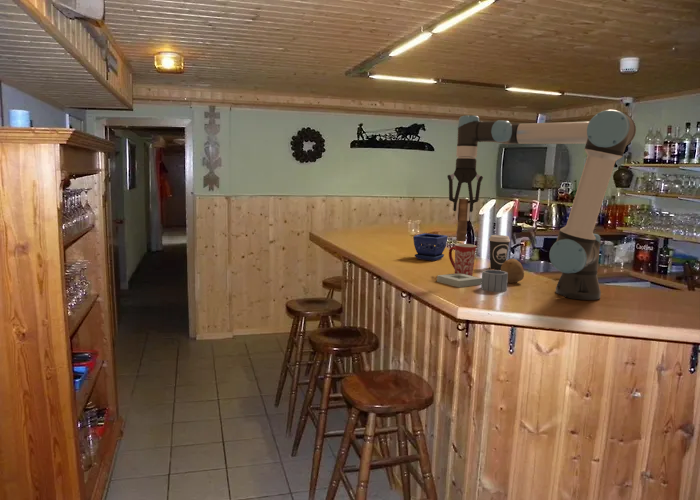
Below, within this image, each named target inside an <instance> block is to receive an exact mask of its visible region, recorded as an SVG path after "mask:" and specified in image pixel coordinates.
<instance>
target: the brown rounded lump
mask: <svg viewBox="0 0 700 500" xmlns="http://www.w3.org/2000/svg"><path fill="white" fill-rule="evenodd" d="M500 271H505V272H507V273H508V281H507V284H508V283H509V284H516V283H518V282H521V281H522V280H523V279H524V277H525V271H524V267H523V265H522V263H521V262H520V261H519V260H518V259H515V258H509V259H508V258H507V259H506V261H505V262H504V263H503V264H502V266H501V270H500Z"/></svg>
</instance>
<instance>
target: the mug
mask: <svg viewBox="0 0 700 500" xmlns="http://www.w3.org/2000/svg"><path fill="white" fill-rule="evenodd" d="M477 247H478V246H477V245H474V244H473V243H472V244H471V243H455V244H454V246H452V247H450V248H449V250H448V259H449V261H450V264H451V265H452V268H453V269H454V274H455V273H461V274H466V275H470V276H473V275H474V266H475V258H476V250H477ZM453 250H454V258H453Z"/></svg>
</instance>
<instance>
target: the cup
mask: <svg viewBox="0 0 700 500" xmlns="http://www.w3.org/2000/svg"><path fill="white" fill-rule="evenodd" d="M481 278H482V282H481V285H480V288H481V290H483V291H487V292H492V293H493V292H495V293H502V292H507V290H508V282H507V281H508V273H507V272H505V271H501V270H496V269H485V270H482V271H481Z"/></svg>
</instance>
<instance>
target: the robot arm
mask: <svg viewBox="0 0 700 500" xmlns="http://www.w3.org/2000/svg"><path fill="white" fill-rule="evenodd" d="M457 124H458V126H457V140H456V141H457V143H456V144H457V145H456V157H457V158H456V160H455V170H454V172H453V173H451V174H447V180H448V200H449V201H450V202H453V209H452V210H453V212H455V221H458V210H459V197H460V193H461V188H462V185H463V183H465V184H467V188H468V189H467V190H468V198H469V202H468V209H467V222H469V221H470V215H471V213H473V211H474V204H475V203H478V202H479V200H480V199H479V197H480V194H481V193H480V190H481V185H482V181H483V179H484V176H483V175H481V174H478V172H477V159H476V158H477V156H478V143H481V142H482V143H497V144H503V145H521V144H522V145H523V144H524V145H526V144H527V145H530V144H531V145H534V144H535V145H537V144H539V145H540V144H541V145H543V144H544V145H545V144H546V145H547V144H548V145H549V144H550V145H555V144H556V145H561V144H564V145H565V144H566V145H568V144H569V145H570V144H571V145H573V144H574V145H575V144H577V145H578V144H581V145H582V144H583V145H584V144H585V146H584V152H585V153H586V160H585V163H584V166H583V169H582V173H581V176H580V179H579V182H578V186H577V189H576V193H575V195H574V198H573V201H572V206H571V209H570V212H569V216H568V219H567V222H566V225H564V226H563V227H561V228H560V229H559V232H558V235H557V239H556V241H555V242H554V243H553V245H552V246H551V247H550V250H549V253H548V254H549V255H548V256H549V261H550V263H551V265H552V266H553V268H555V269H556V270H557V271H559V272H561V275H560V278H559V279H558V281H557V284H556V286H555V293H556V294H557V295H559V296H562V297H563V298H567V299H572V300H582V301H583V300H584V301H595V300H599V299H601V293H602V291H601V288H600V283H599V280H598V269H599V259H600V249H601V244H602V243H601V236H600V235H599V234H598V233H594V230H595V226H596V223H597V221H598V217H599V214H600V212H601V207H602V204H603V201H604V198H605V195H606V192H607V189H608V186H609V184H610V179H611V177H612V173H613V170H614V167H615V164H616V162H617V160H620V159H621V158H623V157H624V154H625V153H624V152H625V150H626V147H627V145H629V144H631V143H632V141H633V140H634V139H635V136H636V132H637V126H636V123H635V121H634V119H632V117H630V116H629V115H628V114H625V113H624V112H622V111H620V110H616V109H606V110H602V111H600V112H598V113H596V114H595V115H594V116H593V117H591V119H590V120H589V121H566V122H563V121H562V122H561V121H560V122H559V121H558V122H535V123H533V122H530V123H529V122H528V123H526V122H525V123H511V122H510V121H509V120H500V119H498V120H483V121H482V120H480V117H479V116H478V115H467V114H466V115H462V116H460V117H459V118H458V123H457ZM475 178H476V181H477V182H476V190H475V196H474V195H473V194H474V193H473V184H472V182H473V181H474V179H475ZM455 179H456V180H457V181H458V182H457V186H456V191H455V195H454V181H453V180H455Z"/></svg>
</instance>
